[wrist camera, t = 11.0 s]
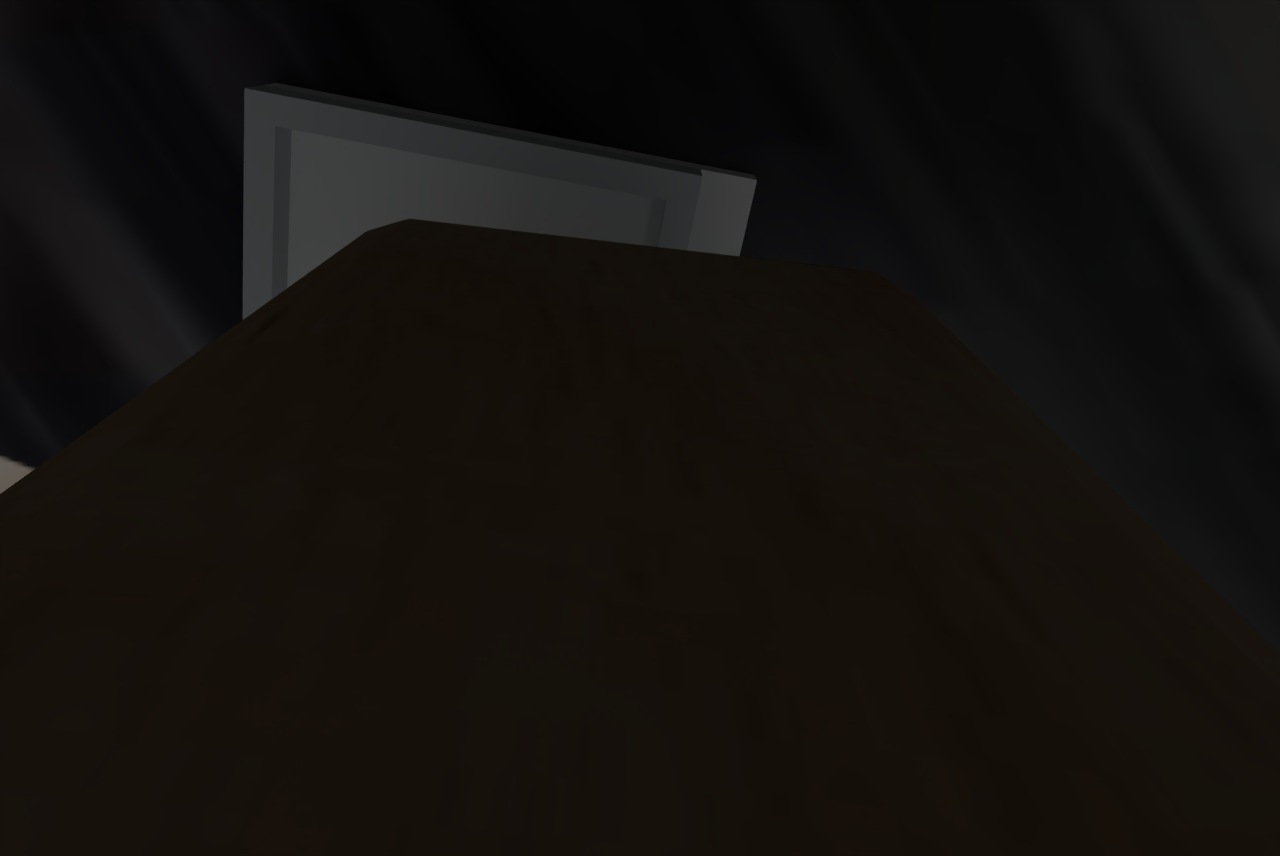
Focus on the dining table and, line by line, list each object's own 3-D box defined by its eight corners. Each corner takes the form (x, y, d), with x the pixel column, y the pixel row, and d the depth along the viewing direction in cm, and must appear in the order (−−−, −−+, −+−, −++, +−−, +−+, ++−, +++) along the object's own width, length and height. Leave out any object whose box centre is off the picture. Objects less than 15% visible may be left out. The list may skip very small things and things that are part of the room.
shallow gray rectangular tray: (275, 82, 32) (244, 88, 30) (753, 174, 33) (761, 187, 31) (268, 463, 38) (241, 494, 36) (672, 531, 39) (672, 565, 37)
